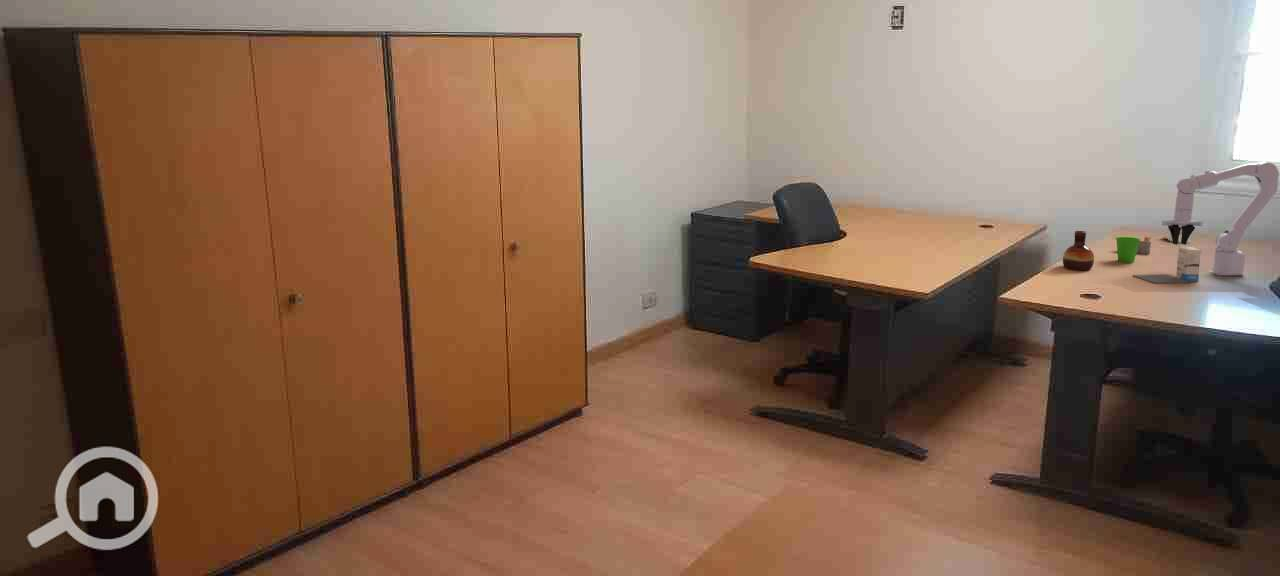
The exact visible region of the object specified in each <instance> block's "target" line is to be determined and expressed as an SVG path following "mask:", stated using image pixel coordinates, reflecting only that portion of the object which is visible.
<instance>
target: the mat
mask: <svg viewBox="0 0 1280 576" xmlns="http://www.w3.org/2000/svg"><path fill="white" fill-rule="evenodd" d="M1132 277H1134V278H1137V279H1140V280H1143V281H1144V282H1145V281H1146V282H1148V283H1152V284H1191V281H1185V280H1182V279H1179V278H1176V276H1173V275H1169V274H1133V275H1132Z"/></svg>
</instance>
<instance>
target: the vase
mask: <svg viewBox="0 0 1280 576" xmlns="http://www.w3.org/2000/svg"><path fill="white" fill-rule="evenodd" d="M1086 238H1087V231H1084V230H1075V231H1074V242H1073V244H1072V245H1070V246H1068V247H1067V248H1066V250H1065V251H1064V252H1063V255H1062V264H1063V267H1064V269H1067V270H1070V271H1076V272H1088V271H1090V270H1091V269H1092V268H1093V266H1094V263H1095V255H1094V252H1093V251H1092V250H1091V248H1090V247H1088V246H1087V245H1086Z"/></svg>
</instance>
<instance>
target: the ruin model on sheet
mask: <svg viewBox="0 0 1280 576" xmlns="http://www.w3.org/2000/svg"><path fill="white" fill-rule="evenodd" d="M1151 245H1152V241H1151V236H1144V240H1140V241H1139V245H1138V248H1137V252H1136V254H1141V255H1149V254H1151Z"/></svg>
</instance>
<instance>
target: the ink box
mask: <svg viewBox="0 0 1280 576" xmlns="http://www.w3.org/2000/svg"><path fill="white" fill-rule="evenodd" d="M1201 251H1202V250H1201V249H1198V248H1195V247H1193V246H1179V247H1178V253H1177V264H1176V274H1175V275H1176V276H1175V277H1176V278H1179V279H1182V280H1185V281H1188V282H1199V277H1200V276H1199V275H1200V265H1201V264H1200V263H1201V253H1202V252H1201Z"/></svg>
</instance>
